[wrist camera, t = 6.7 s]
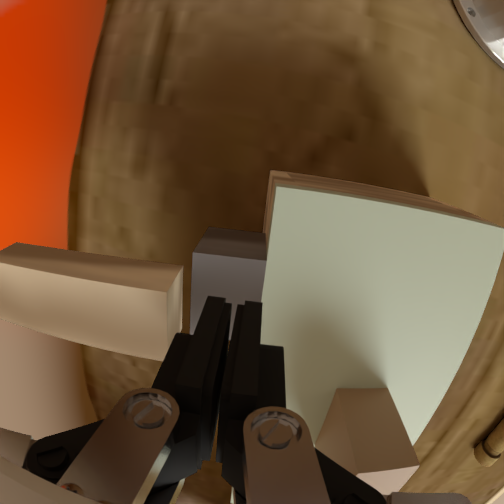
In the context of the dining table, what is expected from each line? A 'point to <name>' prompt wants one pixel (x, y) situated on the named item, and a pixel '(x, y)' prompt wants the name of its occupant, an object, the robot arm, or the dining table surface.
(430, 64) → the dining table surface
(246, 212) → the dining table surface
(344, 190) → the toolbox
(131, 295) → the bar
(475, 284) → the lid
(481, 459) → the gavel
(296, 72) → the dining table surface
